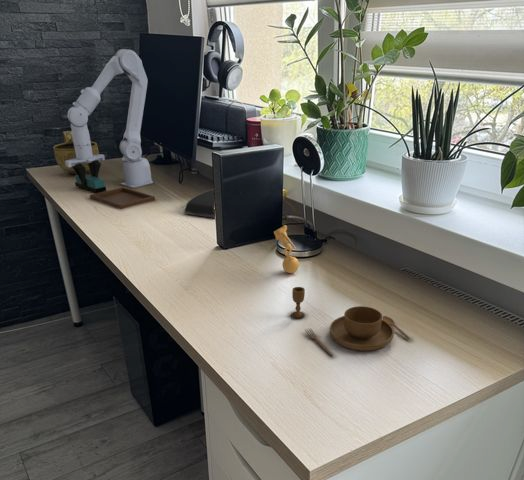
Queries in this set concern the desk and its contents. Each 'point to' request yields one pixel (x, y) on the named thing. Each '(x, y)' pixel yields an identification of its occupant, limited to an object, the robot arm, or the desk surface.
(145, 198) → the tray
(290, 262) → the figurine
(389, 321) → the place setting
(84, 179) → the robot arm
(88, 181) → the teal long block
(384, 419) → the desk surface
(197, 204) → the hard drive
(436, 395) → the desk surface
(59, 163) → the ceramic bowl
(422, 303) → the desk surface
